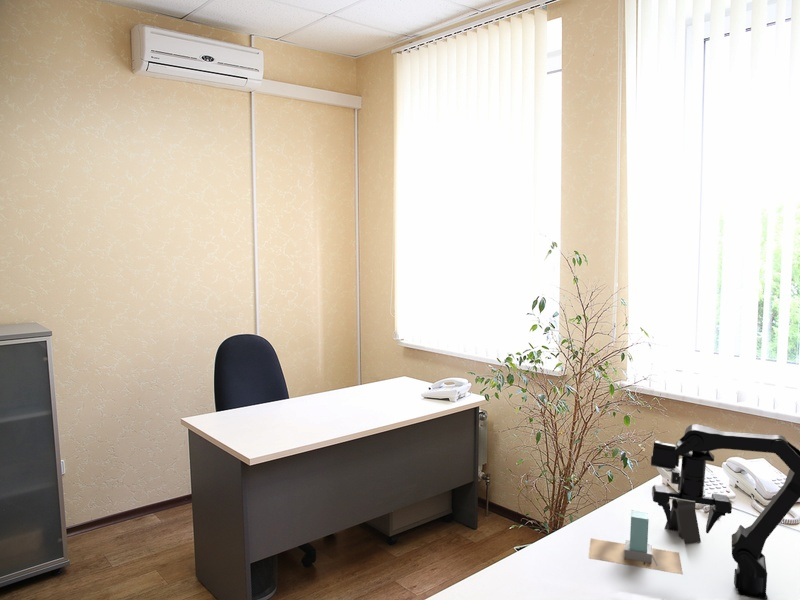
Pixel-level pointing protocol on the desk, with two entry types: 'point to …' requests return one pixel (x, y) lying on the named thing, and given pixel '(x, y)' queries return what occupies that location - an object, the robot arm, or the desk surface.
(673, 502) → the phone stand
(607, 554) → the oak board
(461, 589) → the desk surface
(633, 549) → the block
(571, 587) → the desk surface
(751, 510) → the desk surface
